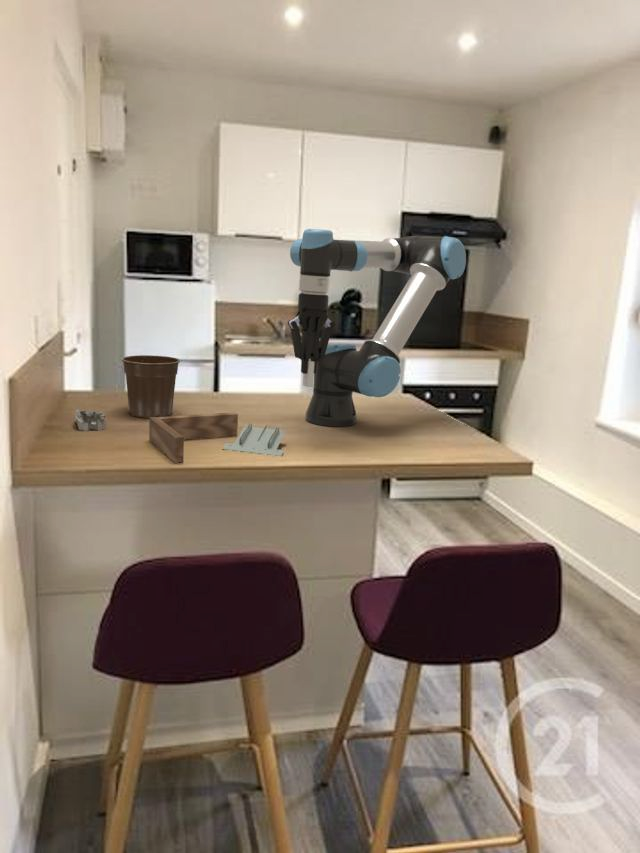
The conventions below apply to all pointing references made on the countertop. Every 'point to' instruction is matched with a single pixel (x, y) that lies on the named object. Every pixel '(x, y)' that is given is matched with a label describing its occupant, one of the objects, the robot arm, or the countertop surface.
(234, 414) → the wooden corner frame
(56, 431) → the countertop surface
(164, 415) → the plant pot
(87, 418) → the egg carton
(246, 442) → the metal bracket
